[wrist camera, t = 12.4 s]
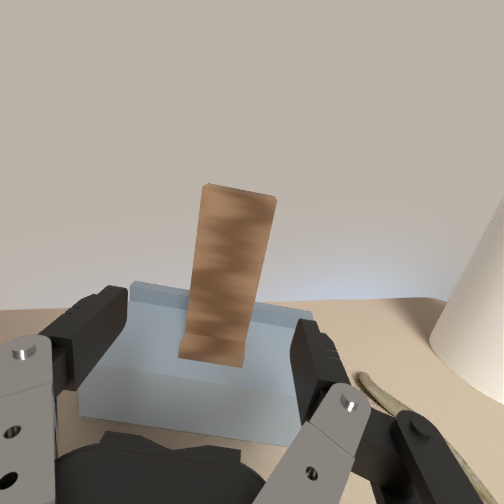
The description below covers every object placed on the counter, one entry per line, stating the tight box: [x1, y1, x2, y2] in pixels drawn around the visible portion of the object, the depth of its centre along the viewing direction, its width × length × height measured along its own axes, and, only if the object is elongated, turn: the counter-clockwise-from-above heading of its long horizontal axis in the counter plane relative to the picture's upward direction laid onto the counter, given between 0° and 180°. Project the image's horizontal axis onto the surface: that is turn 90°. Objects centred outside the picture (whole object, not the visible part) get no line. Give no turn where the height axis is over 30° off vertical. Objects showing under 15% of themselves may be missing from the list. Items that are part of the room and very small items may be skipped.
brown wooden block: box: [178, 183, 277, 368], centre depth 22 cm, size 6×6×14 cm
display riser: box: [78, 281, 313, 447], centre depth 25 cm, size 20×10×8 cm, turn 89°
